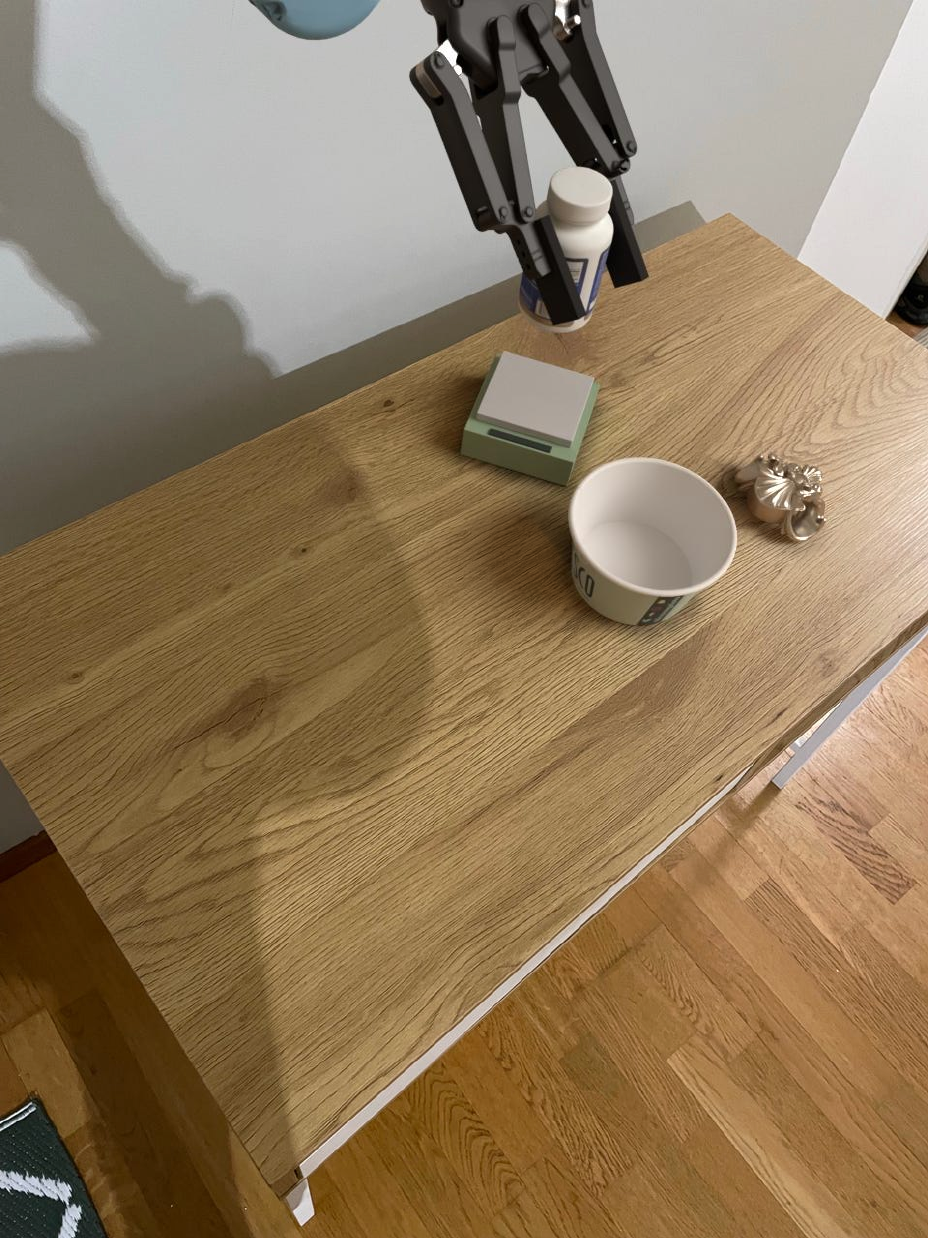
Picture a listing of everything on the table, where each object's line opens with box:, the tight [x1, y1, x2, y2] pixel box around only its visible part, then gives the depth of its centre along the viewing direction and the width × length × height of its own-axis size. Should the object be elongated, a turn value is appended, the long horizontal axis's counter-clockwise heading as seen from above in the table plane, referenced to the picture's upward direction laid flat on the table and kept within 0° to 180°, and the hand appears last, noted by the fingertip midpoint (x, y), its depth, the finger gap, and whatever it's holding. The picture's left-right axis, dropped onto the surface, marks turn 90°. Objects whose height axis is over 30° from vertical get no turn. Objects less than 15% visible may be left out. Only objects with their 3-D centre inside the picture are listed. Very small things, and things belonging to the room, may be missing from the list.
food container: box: [567, 456, 738, 626], centre depth 68 cm, size 12×12×6 cm
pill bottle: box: [517, 166, 613, 334], centre depth 62 cm, size 5×5×10 cm
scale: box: [460, 350, 601, 487], centre depth 76 cm, size 9×9×4 cm
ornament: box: [734, 451, 827, 543], centre depth 74 cm, size 8×7×4 cm
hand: (601, 300), depth 63 cm, fingers closed on pill bottle, 5 cm apart
